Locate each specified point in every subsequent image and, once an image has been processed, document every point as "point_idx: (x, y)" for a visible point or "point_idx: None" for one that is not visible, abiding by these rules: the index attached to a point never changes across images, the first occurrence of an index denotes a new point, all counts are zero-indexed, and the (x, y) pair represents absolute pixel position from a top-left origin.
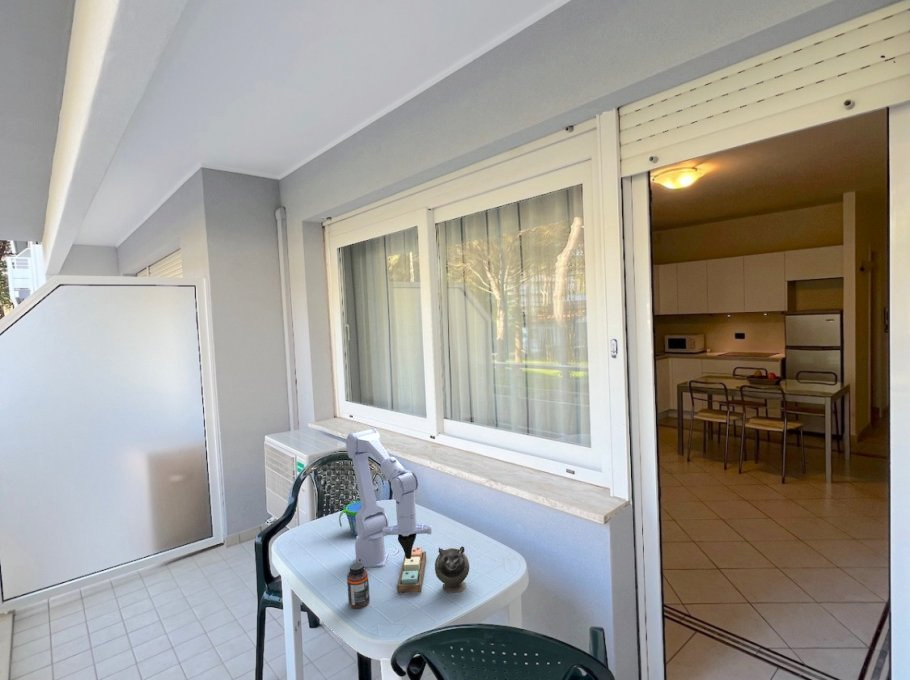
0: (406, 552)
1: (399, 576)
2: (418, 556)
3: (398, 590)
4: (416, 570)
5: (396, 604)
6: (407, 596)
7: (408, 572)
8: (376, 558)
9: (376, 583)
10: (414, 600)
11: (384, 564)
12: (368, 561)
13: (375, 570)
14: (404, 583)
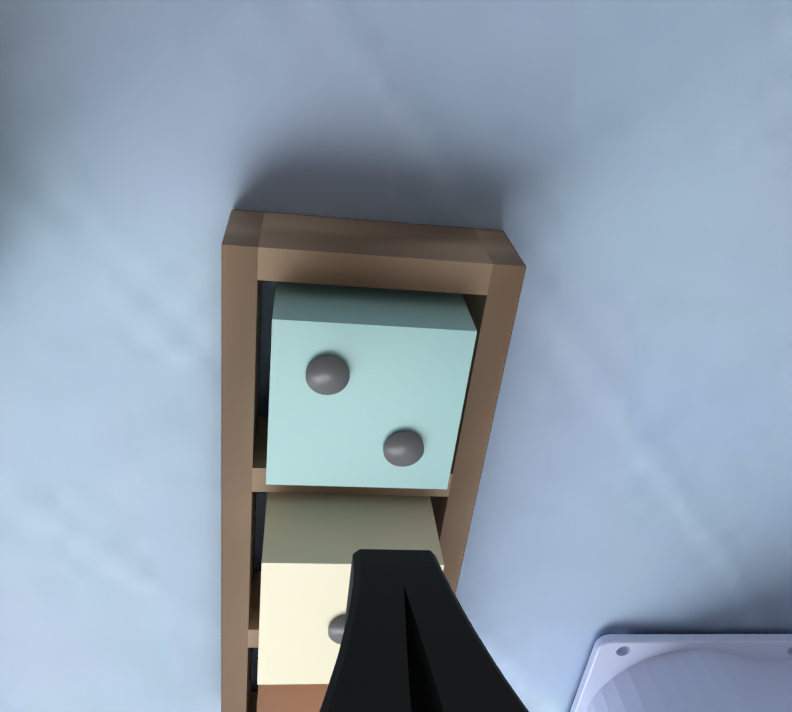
0: (442, 642)
1: (487, 435)
2: (280, 697)
3: (498, 242)
4: (294, 510)
5: (525, 16)
6: (391, 162)
7: (386, 454)
8: (683, 700)
9: (694, 422)
10: (303, 64)
11: (598, 648)
12: (741, 677)
13: (674, 591)
14: (432, 305)
